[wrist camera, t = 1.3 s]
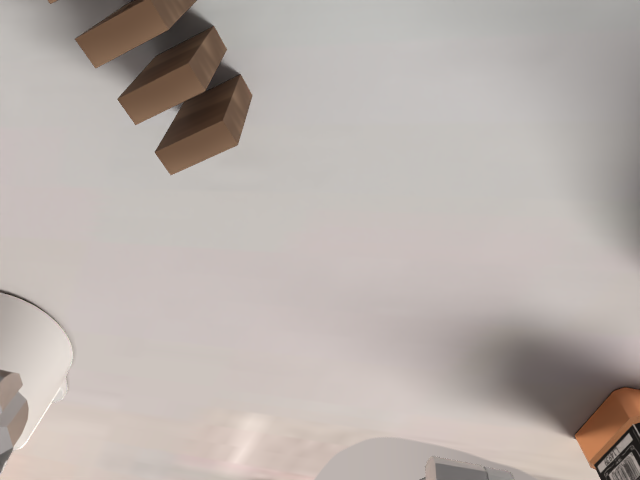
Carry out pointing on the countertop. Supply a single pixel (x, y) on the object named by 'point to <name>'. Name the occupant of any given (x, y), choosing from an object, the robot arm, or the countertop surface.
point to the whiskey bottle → (614, 436)
